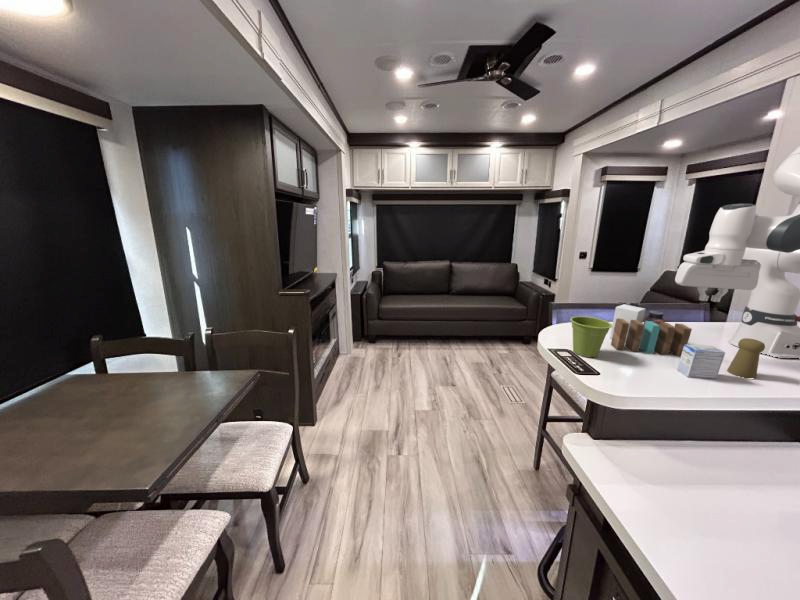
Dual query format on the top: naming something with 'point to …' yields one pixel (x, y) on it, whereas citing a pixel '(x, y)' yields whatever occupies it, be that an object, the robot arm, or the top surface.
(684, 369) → the medicine box
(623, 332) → the domino
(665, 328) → the domino
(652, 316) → the supplement bottle
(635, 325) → the domino
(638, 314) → the supplement box
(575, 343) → the plant pot
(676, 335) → the domino
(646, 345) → the domino
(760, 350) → the cork
